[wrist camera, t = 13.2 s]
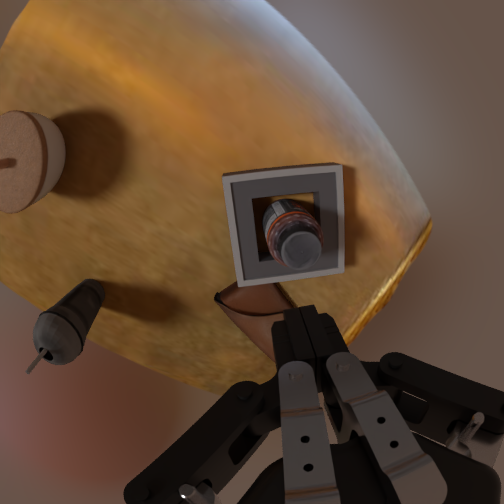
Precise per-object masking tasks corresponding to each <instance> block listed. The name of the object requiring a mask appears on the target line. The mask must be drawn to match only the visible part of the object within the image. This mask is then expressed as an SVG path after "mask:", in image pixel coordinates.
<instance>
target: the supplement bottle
mask: <svg viewBox="0 0 504 504" xmlns="http://www.w3.org/2000/svg"><path fill="white" fill-rule="evenodd" d="M262 226H263V230H264V234H265V238H266V241H267V245H268V248H269V251H270V253H271V255H272V257H273V258H274V259H275V260H276V261H277V262H278V263H280V264H281V265H283V266H286V267H289V268H291V269H294V270H306V269H309V268H311V267H312V266H314V265H315V264H316V263H317V262H318V260H319V258H320V256H321V253H322V247H323V243H324V236H323V231H322V229H321V227H320V225H319V224H318V222H317V221H316V220H315V219H314V218H313V217H312V215H311V214H310V213H309V212H308V211H307V210H306V209H305V208H304V207H303V206H302V205H301V204H300V203H298V202H296V201H294V200H291V199H279V200H276V201H274V202H273V203H271V204H270V205H269V206H268V207H267V208H266V210H265V212H264V214H263V218H262Z"/></svg>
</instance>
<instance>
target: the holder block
mask: <svg viewBox="0 0 504 504" xmlns="http://www.w3.org/2000/svg"><path fill="white" fill-rule="evenodd" d="M222 181H223V188H224V195H225V202H226V209H227V216H228V223H229V230H230V236H231V243H232V250H233V256H234V263H235V270H236V276H237V282H238V287H244V286H252V285H260V284H267V283H275V282H282V281H290V280H297V279H304V278H311V277H318V276H325V275H331V274H338V273H344V254H345V230H344V190H343V170H342V165H341V164H337V163H334V162H333V163H318V164H304V165H293V166H282V167H272V168H263V169H254V170H246V171H238V172H230V173H223V175H222ZM306 192H313V199H314V216H315V220H316V221H317V222H318V224H319V225H320V227H321V229H322V231H323V236H324V243H323V247H322V253H321V256H320V258H319V260H318V262H317V263H316V264H315V265H314V266H312V267H311V268H309V269H306V270H294V269H291V268H289V267H286V266H283V265H281V264H280V263H278V262H277V261H276V260H275V259H274V258H273V257H272V255H271V253H270V251H268V252H260V253H258V249H257V240H256V232H255V223H254V215H253V206H252V198H260V197H269V196H278V195H287V194H296V193H306Z"/></svg>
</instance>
